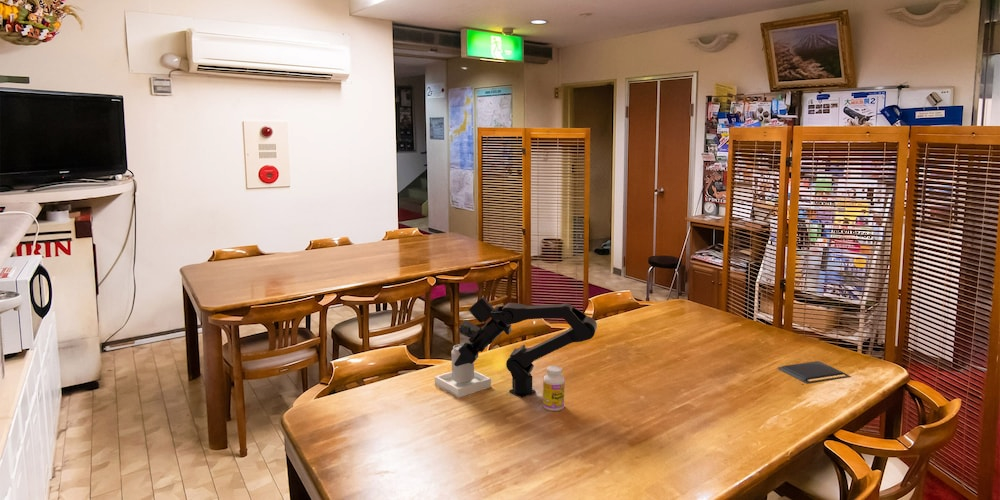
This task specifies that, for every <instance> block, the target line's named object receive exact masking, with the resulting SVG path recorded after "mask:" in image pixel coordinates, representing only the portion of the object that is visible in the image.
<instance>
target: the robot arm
mask: <svg viewBox="0 0 1000 500" xmlns="http://www.w3.org/2000/svg"><path fill="white" fill-rule="evenodd" d="M468 312H469V313H470V314H471V315H472V316H473V317H474V318H475V320H477V322H479V323H485V322H486V323H485V324H484V325H482V326H481V327H479V326H478V325H476V324H474V323H472V322H470V321H469V320H466V319H465V320H463V321H462V322H461V324H460V326H459V327H458V331H457V332H458V333H459V334H460V335H462V336H465V337H467V338H468V342H469V343H468V342H464V343H463V344H464V345H463V346H462V347H461V348H460V349H459V350H458V351H459V352H460V356H459V357H458V359H457V360H456V362H455V363H454V365H455V366H460V365H463V364H467V363H470V364H472V363H473V362H474V363H475V361H476V360H477V359H478V358H479V352H481V353H483V352H484V351H485V349H486V348H487V347H488V346H489V345H491V344H492V343H493V342H494V340H496V339H497V338H498V337H499V336H500V335H501V334H502V333H505V334H506V335H507V336H508V335H510V334H511V332H512V325H514V324H518V323H521V322H524V321H527V320H539V319H540V320H544V319H561V318H562V319H564V320H565V321H566V323H567V324H568V325H569V326H570V327H569V328H567V330H565V331H562V332H560V333H558V334H557V335H556V334H555V336H552V337H550V338H548V339H546V340H544V341H542V342H540V343H538V344H535V345H534V346H532V347H526V345H525V344H522V345H521V346H520V347H518V348H514V349H513V350H512V352H511V353H510V355H509V357H508V359H507V360H506V363H505V366H506V369H507V370H508V372H510V375H511V378H512V380H511V384H512V385H511V389H509V393H511V394H513V395H515V396H517V397H519V398H525V397H527V396H530V395H533V394H536V393H537V391H536V390H535V389H533V375H532V371H533V369H534V367H535V365H534V364H533V363H534V362H535V361H536V360H539V359H541V358H543V357H545V356H547V355H549V354H551V353H553V352H555V351H558V350H560V349H561V348H564V347H566V346H567V345H570V344H573V343H582V342H585V341H589V340H591V339H592V338H594V336H595V334H596V331H597V327H598V323H597V321H596V320H595V318H593V317H591V316H590V315H589V316H588V315H586V314H585V313H584V312H583V311H581V310H579V309H578V308H576V307H574V306H573V305H572V304H571V303H568V302H565V303H558V304H557V303H556V304H555V303H553V304H538V305H537V304H536V305H526V304H522V303H516V302H508V303H506V304H505V305H498V306H497V305H496V306H494V307H493V305H491V303H490V302H489V301H488V300H487V298H486V297H484V296H481V298H480V299H479V300H477V301H476V302H475V303H474V304H473V305H472V306H471V307H469V308H468Z"/></svg>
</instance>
